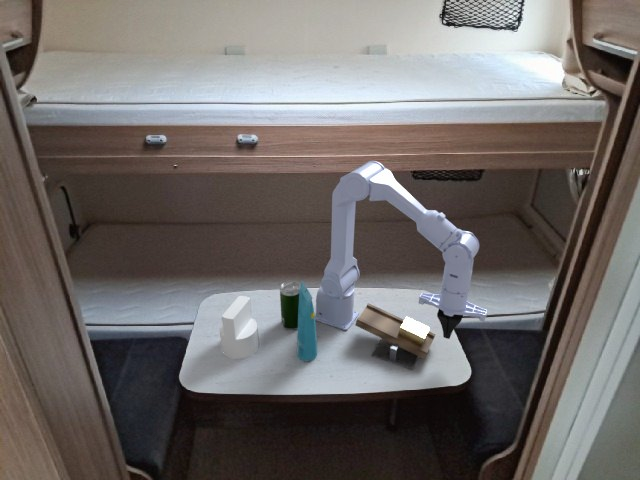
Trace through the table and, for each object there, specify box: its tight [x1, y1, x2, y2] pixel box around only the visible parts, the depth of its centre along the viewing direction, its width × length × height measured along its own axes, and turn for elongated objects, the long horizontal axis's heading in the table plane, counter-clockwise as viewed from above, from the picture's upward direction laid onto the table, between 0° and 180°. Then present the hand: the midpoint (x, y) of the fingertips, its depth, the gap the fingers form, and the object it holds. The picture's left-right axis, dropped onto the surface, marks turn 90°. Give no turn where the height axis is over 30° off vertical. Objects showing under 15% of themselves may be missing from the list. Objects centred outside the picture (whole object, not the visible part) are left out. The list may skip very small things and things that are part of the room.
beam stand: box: [371, 338, 419, 371], centre depth 115 cm, size 10×13×4 cm
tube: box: [296, 279, 318, 362], centre depth 109 cm, size 7×5×19 cm, turn 26°
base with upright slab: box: [218, 295, 260, 360], centre depth 113 cm, size 9×9×12 cm
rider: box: [398, 316, 431, 347], centre depth 112 cm, size 6×4×3 cm
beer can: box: [279, 280, 301, 331], centre depth 120 cm, size 5×5×12 cm
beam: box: [354, 303, 436, 360], centre depth 114 cm, size 18×8×3 cm, turn 62°
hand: (447, 335), depth 108 cm, fingers closed
